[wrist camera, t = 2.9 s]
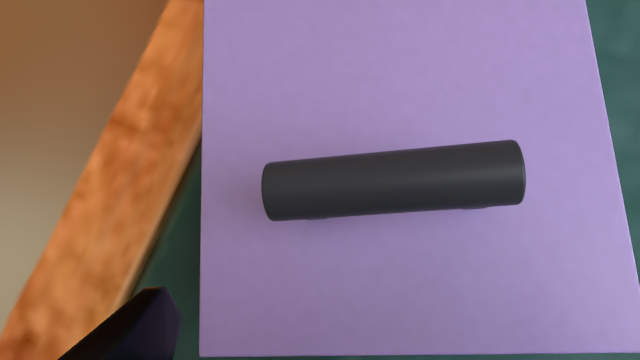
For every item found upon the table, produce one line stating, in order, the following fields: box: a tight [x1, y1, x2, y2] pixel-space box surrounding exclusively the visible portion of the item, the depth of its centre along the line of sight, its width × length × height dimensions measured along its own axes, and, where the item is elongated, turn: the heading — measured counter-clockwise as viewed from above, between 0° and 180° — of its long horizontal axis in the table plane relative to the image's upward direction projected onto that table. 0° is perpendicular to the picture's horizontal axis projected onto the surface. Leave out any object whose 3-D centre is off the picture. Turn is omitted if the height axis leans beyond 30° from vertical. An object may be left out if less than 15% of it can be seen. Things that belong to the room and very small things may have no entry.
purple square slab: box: [199, 0, 640, 357], centre depth 12 cm, size 15×12×5 cm
